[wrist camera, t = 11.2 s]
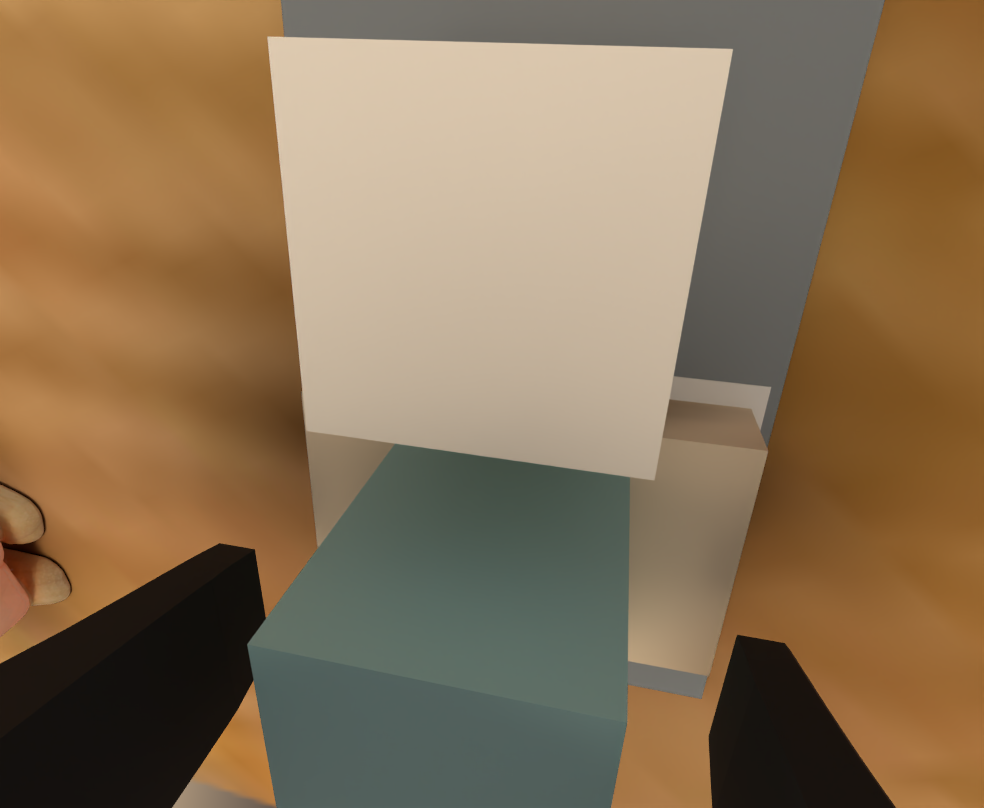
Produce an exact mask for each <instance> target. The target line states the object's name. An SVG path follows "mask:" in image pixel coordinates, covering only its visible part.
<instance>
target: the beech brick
mask: <svg viewBox="0 0 984 808" xmlns="http://www.w3.org/2000/svg"><path fill="white" fill-rule="evenodd" d="M301 396H302V405H303V414H304V424H305V433H306V443H307V452H308V462H309V471H310V481H311V490H312V500H313V509H314V519H315V528H316V537H317V547H318V548H319V546H320V545H321V543H322V542H323V541H324V539H325V538H326V537H327V535H328V534H329V533H330V531H331V530H332V529H333V527H334V526H335V524H336V523H337V522H338V520H339V519H340V518H341V516H342V515H343V514H344V512H345V511H346V509H347V508H348V507H349V505H350V504H351V503H352V501H353V500H354V499H355V497H356V496H357V495H358V493H359V492H360V490H361V489H362V488H363V486H364V485H365V484H366V482H367V481H368V480H369V478H370V477H371V476H372V474H373V473H374V471H375V470H376V469H377V467H378V466H379V465H380V463H381V462H382V461H383V459H384V458H385V457H386V455H387V454H388V452H389V451H390V450H391V448H392V447H393V446H394V444H395V443H388V442H381V441H374V440H367V439H360V438H353V437H346V436H339V435H332V434H325V433H318V432H311V431H307V430H306V420H305V410H304V400H303V391H302V392H301ZM767 454H768V449H767V447H766V444H765V442H764V439H763V437H762V434H761V432H760V429H759V427H758V424H757V422H756V419H755V417H754V414H753V412H752V409H749V408H740V407H731V406H723V405H714V404H706V403H697V402H688V401H680V400H671V399H669V403H668V409H667V414H666V420H665V425H664V431H663V436H662V442H661V447H660V453H659V458H658V464H657V469H656V475H655V480H647V479H640V478H633V477H630V524H629V610H628V661H630V662H636V663H641V664H646V665H652V666H657V667H662V668H668V669H673V670H678V671H683V672H689V673H694V674H699V675H705V676H709V675H710V671H711V667H712V663H713V660H714V656H715V652H716V648H717V644H718V640H719V637H720V633H721V629H722V625H723V621H724V618H725V614H726V610H727V606H728V602H729V599H730V595H731V591H732V587H733V583H734V580H735V576H736V572H737V568H738V564H739V561H740V557H741V553H742V549H743V545H744V542H745V538H746V534H747V530H748V526H749V523H750V519H751V515H752V511H753V507H754V504H755V500H756V496H757V492H758V488H759V485H760V481H761V477H762V473H763V469H764V465H765V462H766V458H767Z"/></svg>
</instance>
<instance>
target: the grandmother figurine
mask: <svg viewBox="0 0 984 808" xmlns="http://www.w3.org/2000/svg"><path fill="white" fill-rule="evenodd" d="M43 533H44V526H43V520H42V516H41V513H40V511H39V510H38V509H37V507H36V506H35V505H34V504H33V503H32V502H31V501H30V500H29V499H27V498H26V497H24V496H22V495H20V494H19V493H17V492H15V491H13V490H11V489H9V488H6V487H5V486H3V485H0V541H1V542H4V543H7V544H26V543H30V542H34V541H36V540H38V539H39V538H40V537H41V536H42V535H43ZM1 542H0V637H1V636H2V635H3V634H4V633H6V632H7V631H8V630H9V629H10V628H11V627H13V626H14V625H15V624H16V623H17V622H18V621H19V620H20V619H21V618H22V617H23V616H24V615H25V614H26V613H27V611H28V609H29V607H30V606H36V605H47V604H54V603H57V602H60V601H63V600H65V599H66V598H67V597H68V596H69V594H70V584H69V582H68V580H67V578H66V576H65V574H64V572H63V570H62V569H61V568H60V567H59V566H58V565H57V564H55V563H54V562H52V561H51V560H49V559H47V558H45V557H41V556H37V555H33V554H29V553H25V552H20V551H15V550H11V549H7V548H3V547H2V544H1Z"/></svg>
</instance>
